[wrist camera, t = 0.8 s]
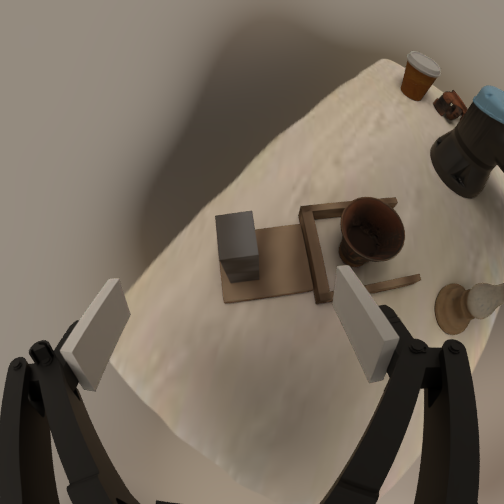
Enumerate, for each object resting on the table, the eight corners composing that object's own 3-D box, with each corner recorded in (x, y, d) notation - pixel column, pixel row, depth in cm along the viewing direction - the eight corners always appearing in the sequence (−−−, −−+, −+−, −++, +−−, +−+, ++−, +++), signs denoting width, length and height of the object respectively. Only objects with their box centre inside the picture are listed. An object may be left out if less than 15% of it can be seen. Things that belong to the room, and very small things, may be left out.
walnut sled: (389, 205, 43) (420, 165, 31) (411, 284, 38) (456, 262, 27) (217, 226, 42) (201, 183, 31) (226, 317, 38) (211, 305, 26)
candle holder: (474, 320, 36) (557, 296, 16) (443, 344, 35) (535, 330, 16) (458, 276, 38) (538, 235, 19) (427, 297, 38) (515, 259, 18)
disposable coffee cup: (392, 92, 54) (406, 57, 42) (398, 78, 56) (410, 46, 45) (424, 110, 52) (442, 77, 40) (427, 95, 54) (443, 64, 43)
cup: (311, 228, 41) (336, 196, 32) (360, 221, 43) (391, 192, 33) (326, 284, 39) (358, 266, 29) (375, 272, 40) (413, 253, 31)
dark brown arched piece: (428, 96, 55) (448, 82, 48) (447, 121, 57) (466, 108, 50) (436, 112, 48) (459, 96, 42) (456, 140, 51) (478, 125, 44)
